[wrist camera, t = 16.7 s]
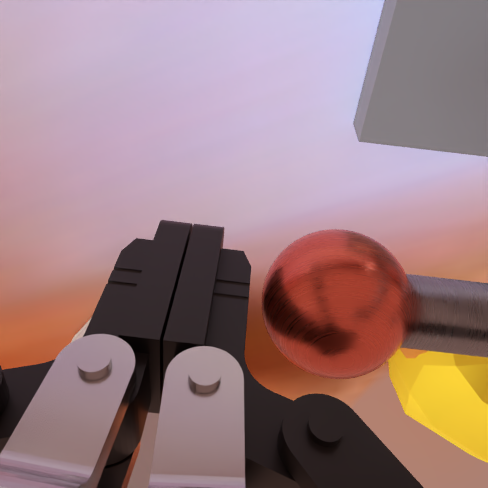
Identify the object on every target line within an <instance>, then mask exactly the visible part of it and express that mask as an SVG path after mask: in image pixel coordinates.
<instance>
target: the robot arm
mask: <svg viewBox="0 0 488 488" xmlns="http://www.w3.org/2000/svg"><path fill="white" fill-rule="evenodd" d="M223 238H224V227H216V226H208V225H200V224H194V225H193V226H192V224H190V223H182V222H174V221H166V220H161V221H160V223H159V226H158V229H157V231H156V234H155V237H154V240H146V239H138V238H136V239H135V240H134V241H133V242H131V243H130V244H129V245H128V246H127V247H125V248H124V249H123V250H122V251H121V253H120V255H119V257H118V260H117V262H116V264H115V266H114V270H113V271H112V273H111V275H110V278H109V280H108V284H106V287H105V289H104V291H103V293H102V296H101V298H100V300H99V302H98V304H97V307H96V309H95V311H94V313H93V316H92V318H91V320H90V322H89V325H88V327H87V329H86V331H85V334H84V335H83V337H82V338H79V339H77V340H75V341H73V342H72V343H70V344H69V345H67V346H66V347H65V348H64V349H63V350H62V351H61V352H60V353H59V355H58V356H57V358H56V359H54V360H52V361H49V362H46V363H42V364H37V365H31V366H24V367H18V368H12V369H5V370H2V369H1V366H0V488H127V486H128V483H129V480H130V477H131V474H132V471H133V468H134V465H135V462H136V459H137V456H138V453H139V450H140V445H141V437H142V434H143V430H144V426H145V422H146V418H147V414H148V412H149V413H158V414H159V419H158V426H157V433H156V440H155V446H154V453H153V460H152V467H151V473H150V480H149V485H148V488H423V487H422V485H421V484H420V483H419V482H418V481H417V480H416V479H415V478H414V477H413V476H412V474H411V473H410V472H409V471H408V470H407V469H406V468H405V467H404V466H403V465H402V464H401V462H400V461H399V460H398V459H397V458H396V457H395V456H394V455H393V454H392V452H391V451H390V450H389V449H388V448H387V447H386V446H385V445H384V444H383V443H382V441H381V440H380V439H379V438H378V437H377V436H376V435H375V434H374V433H373V432H372V431H371V430H370V428H369V427H368V426H367V425H366V424H365V423H364V422H363V421H362V420H361V418H359V416H358V415H357V414H356V413H355V412H354V411H353V410H352V409H351V408H350V407H349V406H348V405H346V404H345V403H344V402H342V401H340V400H339V399H337V398H334V397H332V396H329V395H324V394H308V395H304V396H301V397H299V398H297V399H296V400H294V401H293V400H290V399H288V398H286V397H283V396H281V395H279V394H277V393H274V392H272V391H270V390H268V389H266V388H265V387H264V386H262V385H261V384H260V383H259V382H257V381H256V380H255V379H254V377H253V376H252V375H251V373H250V372H249V370H248V368H247V365H246V362H245V358H244V350H245V338H246V325H247V313H248V299H249V286H250V275H251V265H250V263H249V261H248V259H247V257H246V255H245V253H244V251H238V250H230V249H223Z"/></svg>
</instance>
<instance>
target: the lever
mask: <svg viewBox="0 0 488 488" xmlns="http://www.w3.org/2000/svg"><path fill="white" fill-rule="evenodd" d="M262 313H263V318H264V322H265V326H266V329H267V331H268V333H269V335H270V337H271V339H272V341H273V343H274V344H275V346H276V347H277V348H278V350H279V351H280V352H281V353H282V354H283V355H284V356H285V357H286V358H287V359H288V360H289V361H290V362H292V363H293V364H294V365H296V366H297V367H299V368H301V369H302V370H304V371H306V372H308V373H311V374H314V375H317V376H320V377H324V378H330V379H347V378H354V377H358V376H362V375H365V374H367V373H370V372H372V371H374V370H376V369H377V368H379V367H381V366H382V365H384V364H385V363H386V362H387V361H388V360H389V359H390V358H391V357H393V356H394V355H395V353H396V352H397V351H398V350H399V348H409V349H417V350H426V351H435V352H444V353H452V354H461V355H470V356H479V357H487V358H488V283H480V282H471V281H463V280H454V279H445V278H437V277H428V276H419V275H411V274H405V272H404V269H403V268H402V266H401V265H400V263H399V262H398V261H397V259H396V258H395V257H394V256H393V255H392V253H391V252H390V251H389V250H387V249H386V248H385V247H384V246H383V245H381V244H380V243H378V242H377V241H375V240H373V239H372V238H370V237H368V236H365V235H363V234H360V233H357V232H353V231H348V230H339V229H332V230H322V231H318V232H314V233H311V234H308V235H306V236H304V237H302V238H300V239H298V240H296V241H294V242H293V243H291V244H290V245H289V246H288V247H287V248H285V249H284V250H283V251H282V252H281V253H280V255H279V256H278V257H277V258H276V260H275V261H274V263H273V264H272V266H271V267H270V269H269V272H268V274H267V276H266V279H265V282H264V286H263V292H262Z"/></svg>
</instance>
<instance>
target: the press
mask: <svg viewBox="0 0 488 488" xmlns="http://www.w3.org/2000/svg"><path fill="white" fill-rule="evenodd" d="M353 124H354V127H355V131H356V134H357V137H358V140H359V142H367V143H376V144H384V145H393V146H401V147H410V148H418V149H427V150H435V151H444V152H452V153H461V154H469V155H477V156H486V157H488V0H385V2H384V5H383V9H382V13H381V17H380V21H379V25H378V29H377V33H376V37H375V41H374V45H373V48H372V52H371V56H370V60H369V64H368V68H367V72H366V76H365V80H364V84H363V87H362V91H361V95H360V99H359V103H358V107H357V111H356V115H355V119H354V123H353Z"/></svg>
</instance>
